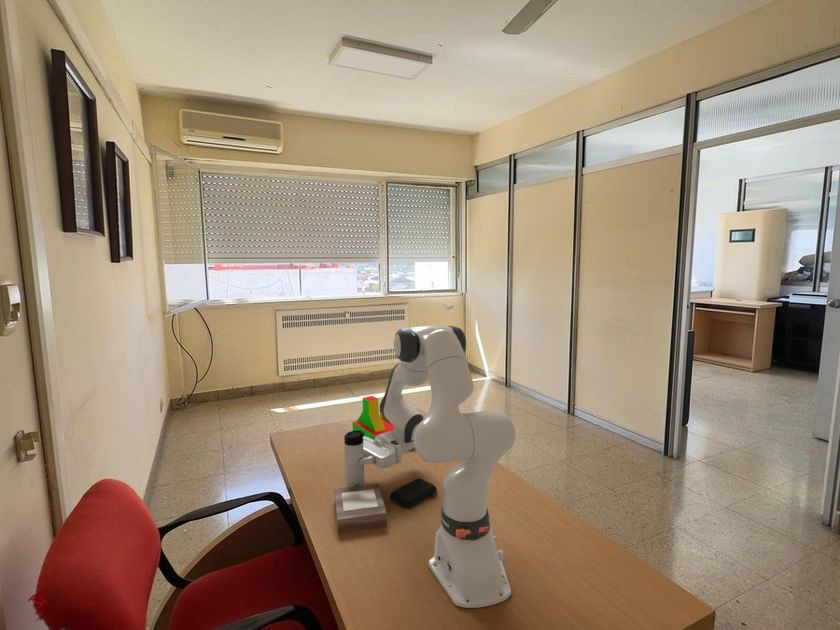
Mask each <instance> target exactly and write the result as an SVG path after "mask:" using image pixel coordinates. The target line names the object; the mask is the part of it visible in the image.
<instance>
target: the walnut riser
mask: <svg viewBox="0 0 840 630" xmlns="http://www.w3.org/2000/svg"><path fill="white" fill-rule="evenodd" d="M334 502H335V513H336V524H337V525H336V527H337V533H338V534H339V533H345V532H353V531H358V530H366V529H367V530H368V529H372V528H373V529H374V528H380V527H386V526H388V521H387V520H388V519H387V517H388V516H387V510H386V509H387V508H386V506H385V503H384V499H383V495H382V492H381V488H380V485H379V483H372V484H364V485H362V486H354V487H346V486H345V487H340V488H339V487H338V488H335V489H334Z"/></svg>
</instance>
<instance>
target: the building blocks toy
mask: <svg viewBox="0 0 840 630" xmlns="http://www.w3.org/2000/svg"><path fill="white" fill-rule="evenodd" d="M379 400H380V399H379V398H378V397H375V396H374V395H369V396H365V397H362V412H361V413H360V415H359V417H358V419H357V420H355V421H352V431H357V430H359V431H362V432H364V435H363V437H368V438H371V439H373V440H374V439H375V437H376V436H377V435H380V434H383V433H386V432H388V431H393V430H394V428H395V427H394V426H393V425H392V424H391V423H390V422H389V421H388V420H387V419H386V418H384V417H383V416H382V415H381V414H380V404H379Z"/></svg>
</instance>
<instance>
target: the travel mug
mask: <svg viewBox="0 0 840 630" xmlns="http://www.w3.org/2000/svg"><path fill="white" fill-rule="evenodd" d="M363 435H364V432H362V431H359V430H357V431H353V430H351V431H349V432H346V433H345V435H344V443H343V444H344V473H345V474H344V475H345V476H344V479H345V480H344V482H345V488H346V487H354V486H362V485H365V464H364V465H362V466H361V465H359V464H358V459H360V458H364V445H363Z"/></svg>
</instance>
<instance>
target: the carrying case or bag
mask: <svg viewBox="0 0 840 630" xmlns="http://www.w3.org/2000/svg"><path fill="white" fill-rule="evenodd" d="M437 492H438V488H437V487H436V485H435V484H433V483H431V482H429V481H427V480H424V479H422V478H420V477H418V478H415V479H413V480H411V481H409V482H407V483H405V484H403V485H401V486H399V487H398V488H396V489H394V490H392V491H391V492H390V493H389V499H390V500H391V501H392V502H394V503H396V504H398V505H400V506H401V507H403V508H404V509H410V508H413V507H414V506H417V505H418V504H420V503H421V502H424V500H426V499H428V498H430V497H431V498H433V497H435V495H437Z"/></svg>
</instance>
